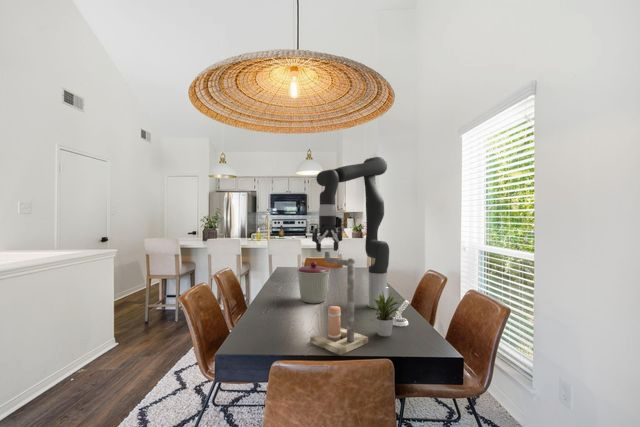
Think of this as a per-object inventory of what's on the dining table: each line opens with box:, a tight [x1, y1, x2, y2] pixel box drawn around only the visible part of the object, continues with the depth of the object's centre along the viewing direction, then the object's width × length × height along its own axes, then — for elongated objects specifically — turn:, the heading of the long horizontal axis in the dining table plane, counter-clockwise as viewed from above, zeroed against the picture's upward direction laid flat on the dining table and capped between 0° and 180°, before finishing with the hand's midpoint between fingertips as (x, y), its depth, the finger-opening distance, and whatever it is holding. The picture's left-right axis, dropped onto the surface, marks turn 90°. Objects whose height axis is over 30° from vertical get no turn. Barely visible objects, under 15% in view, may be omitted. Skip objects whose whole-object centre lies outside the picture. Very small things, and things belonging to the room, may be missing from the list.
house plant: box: [368, 291, 401, 337], centre depth 120 cm, size 14×14×16 cm
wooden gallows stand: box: [309, 251, 369, 356], centre depth 113 cm, size 14×15×32 cm
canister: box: [296, 261, 331, 304], centre depth 168 cm, size 18×18×21 cm
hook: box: [393, 299, 410, 327], centre depth 134 cm, size 8×12×7 cm
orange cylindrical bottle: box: [327, 305, 342, 342], centre depth 115 cm, size 5×5×12 cm
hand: (327, 251), depth 140 cm, fingers open, 8 cm apart
